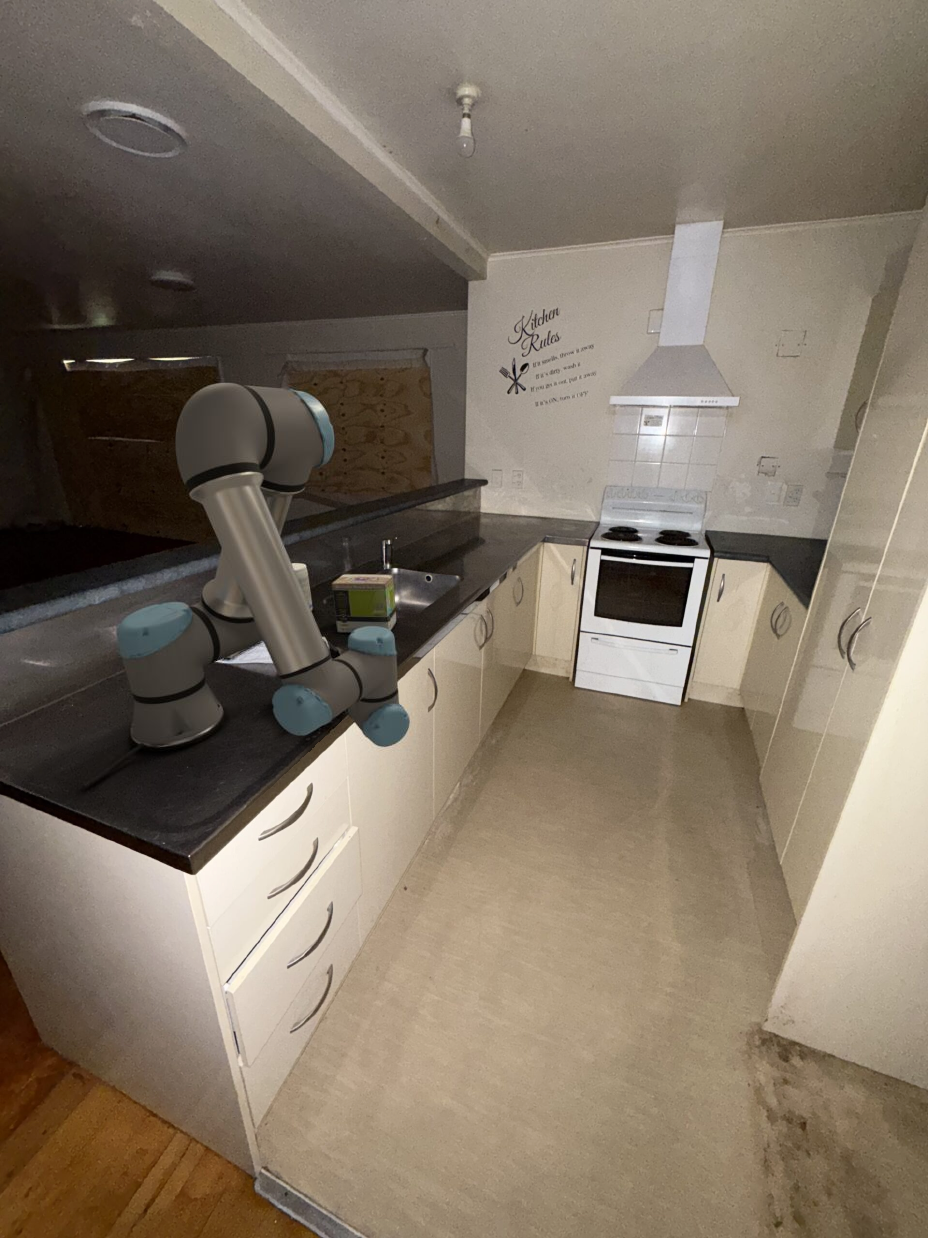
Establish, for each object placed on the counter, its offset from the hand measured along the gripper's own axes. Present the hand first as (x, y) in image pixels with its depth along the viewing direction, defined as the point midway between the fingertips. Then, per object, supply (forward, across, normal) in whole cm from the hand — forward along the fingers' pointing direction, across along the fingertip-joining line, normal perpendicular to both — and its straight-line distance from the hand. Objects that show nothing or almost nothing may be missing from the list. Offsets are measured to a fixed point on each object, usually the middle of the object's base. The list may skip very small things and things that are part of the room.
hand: (314, 649), depth 109 cm
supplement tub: (+46, +9, -7) cm, 47 cm away
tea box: (+21, +22, -7) cm, 31 cm away
